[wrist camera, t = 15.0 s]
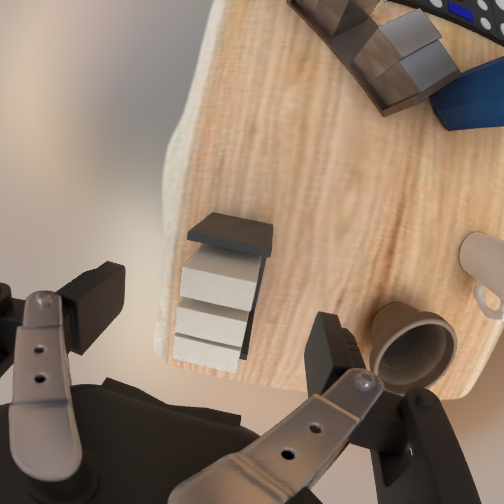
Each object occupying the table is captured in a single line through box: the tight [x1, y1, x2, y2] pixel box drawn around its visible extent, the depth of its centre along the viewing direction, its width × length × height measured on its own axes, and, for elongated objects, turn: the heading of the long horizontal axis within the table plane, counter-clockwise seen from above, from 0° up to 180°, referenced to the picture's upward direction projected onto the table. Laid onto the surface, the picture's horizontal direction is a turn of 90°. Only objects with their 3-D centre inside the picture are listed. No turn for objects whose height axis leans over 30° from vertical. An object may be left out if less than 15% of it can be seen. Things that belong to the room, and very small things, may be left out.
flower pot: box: [369, 303, 457, 396], centre depth 35 cm, size 12×11×10 cm
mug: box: [459, 232, 504, 321], centre depth 31 cm, size 10×7×12 cm, turn 173°
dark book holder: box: [172, 213, 273, 373], centre depth 32 cm, size 12×8×15 cm, turn 169°
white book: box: [179, 243, 262, 311], centre depth 31 cm, size 3×6×14 cm, turn 79°
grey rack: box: [287, 0, 462, 117], centre depth 25 cm, size 19×8×12 cm, turn 37°
